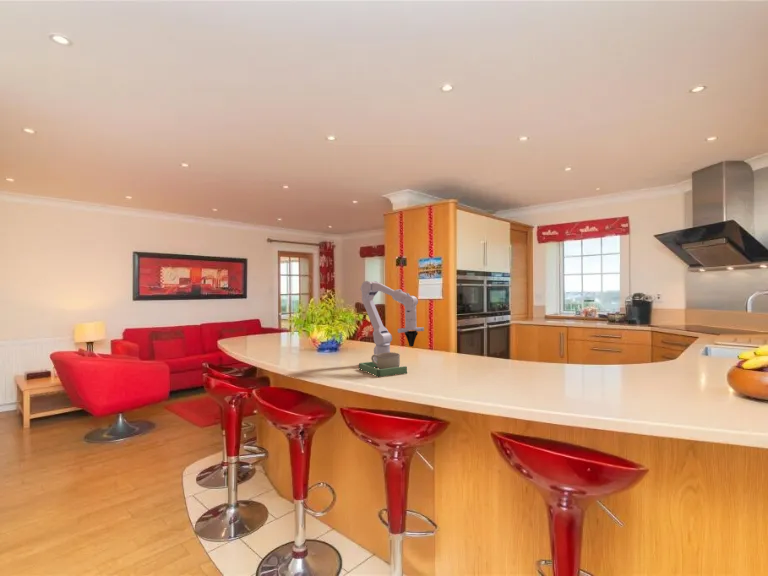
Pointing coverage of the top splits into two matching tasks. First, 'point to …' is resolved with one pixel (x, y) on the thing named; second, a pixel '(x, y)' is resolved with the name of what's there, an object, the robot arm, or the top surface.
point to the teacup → (387, 360)
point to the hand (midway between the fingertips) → (411, 346)
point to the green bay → (381, 372)
